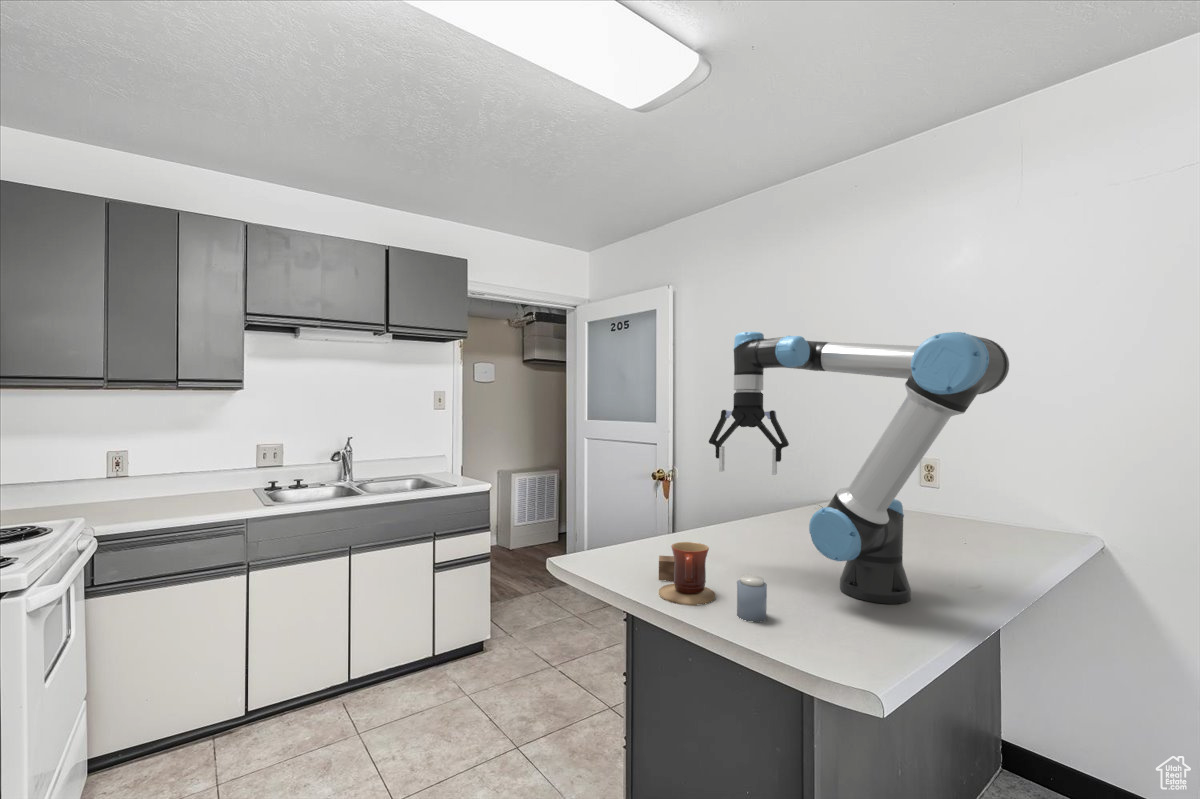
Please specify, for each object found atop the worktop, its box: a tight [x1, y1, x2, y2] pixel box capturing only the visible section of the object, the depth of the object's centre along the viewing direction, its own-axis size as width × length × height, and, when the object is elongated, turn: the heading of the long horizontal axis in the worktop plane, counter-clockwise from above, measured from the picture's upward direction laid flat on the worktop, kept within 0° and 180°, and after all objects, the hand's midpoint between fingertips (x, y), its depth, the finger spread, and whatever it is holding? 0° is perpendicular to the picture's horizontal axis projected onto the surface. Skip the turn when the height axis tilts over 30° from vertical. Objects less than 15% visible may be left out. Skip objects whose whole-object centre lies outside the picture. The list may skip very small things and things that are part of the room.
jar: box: [736, 574, 768, 623], centre depth 117 cm, size 6×6×8 cm
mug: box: [670, 541, 710, 594], centre depth 129 cm, size 12×9×10 cm
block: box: [658, 555, 674, 582], centre depth 142 cm, size 5×5×5 cm
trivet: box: [658, 583, 716, 606], centre depth 129 cm, size 13×13×1 cm
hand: (747, 472), depth 145 cm, fingers open, 13 cm apart
